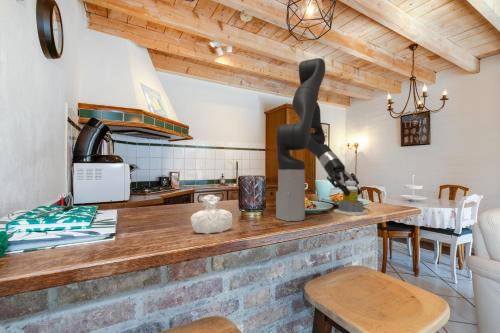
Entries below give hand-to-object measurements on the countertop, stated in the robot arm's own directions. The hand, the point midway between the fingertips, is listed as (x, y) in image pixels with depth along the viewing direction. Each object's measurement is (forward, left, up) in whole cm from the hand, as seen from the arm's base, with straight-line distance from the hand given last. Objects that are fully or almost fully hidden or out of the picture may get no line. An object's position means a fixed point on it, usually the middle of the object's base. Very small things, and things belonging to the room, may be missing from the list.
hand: (354, 194), depth 93 cm
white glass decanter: (-57, +10, -8) cm, 58 cm away
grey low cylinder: (0, +2, -8) cm, 8 cm away
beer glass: (0, +2, -5) cm, 5 cm away
